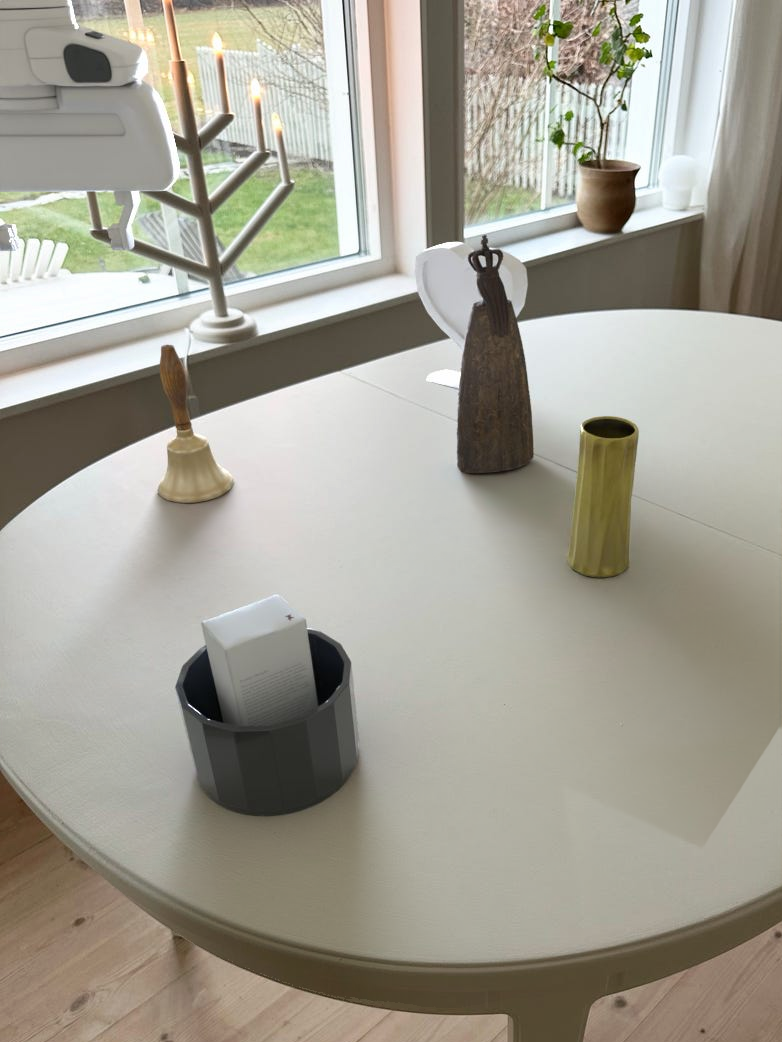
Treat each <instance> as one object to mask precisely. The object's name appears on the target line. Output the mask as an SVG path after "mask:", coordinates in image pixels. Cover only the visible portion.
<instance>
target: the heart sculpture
mask: <svg viewBox="0 0 782 1042" xmlns="http://www.w3.org/2000/svg"><path fill="white" fill-rule="evenodd" d="M489 249H492V250H493V249H494V250H495V249H497V248H496V247H489ZM500 250H501V251H502V252H503V260H502V263H501V265H500V268H499V269H498V271H499V276H500V278H501V280H502V282H503V285H504V288H505V292H506V296H507V300H511V301H512V305H513V309H514V312H515V316H516V319H517V318H518V316H519V315H520V313H521V311H522V310H523V308H524V307H525V304H526V299H527V293H528V286H529V281H528V271H527V268H526V266H525V265H524V263H523V262H522V261H521V260H520V259H519V258H518V257H515V256H514V255H512V254H511V253H510V252H507V251H505V250H502V249H500ZM473 251H475V249H474V248H473V247H472V246H470V245H469V244H468V243H465V242H461V241H452V242H451V241H450V242H449V241H448V242H444V243H442V244H437V245H435V246H432V247H429V248H427V249H424V250H421V251H420V252H419V253H418V254H417V255H415V262H414V263H415V264H414V278H415V284H416V289H417V294H418V296H419V298H420V300H421V303H422V304H423V307H424V309H425V311H426V312H427V314H428V315H429V317H431V320H432V321H434V322H435V324H436V325H437V326H438V327H439V329H440V330H441V331H442V332H443V333H444V334H446V336H448V337H449V338H450V339H451V340H452V342H454V343H455V345H457V346H458V347H459V348H460V349H461V357H462V356H463V350H464V344H465V338H466V333H467V327H468V323H469V318H470V314H471V310H472V306H473V304H474V303H476V302H479V301H482V300H483V298H482V297H481V296H480V294H479V293H478V290H477V286H476V279H477V277H476V274H477V272H476V271H474V269H473V268H472V267H471V266H470V264H469V262H468V254H470V253H471V252H473ZM478 257H479V261H480V263H481V265H482V267H486V260H485V257H484V256H478ZM471 261H472V257H471ZM497 262H498V256H497V255H496V254H493V266H495V265H496V264H497ZM472 263H473V262H472ZM460 374H461V372H458V371H454V370H451V369H443V370H439V371H434V372H432V373H430V374H429V375H428V376H427V378H426V381H427V382H431V383H434V384H439V385H442V386H446V387H451V388H455V389H458V390H459V383H460Z"/></svg>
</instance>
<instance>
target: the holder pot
mask: <svg viewBox="0 0 782 1042" xmlns="http://www.w3.org/2000/svg"><path fill="white" fill-rule="evenodd" d="M307 632H308V640H309V646H310V653H311V659H312V666H313V673H314V680H315V687H316V694H317V701H318V707H317V708H315V709H314V710H312V711H310V712H309V713H307V714H305V715H304V716H302V717H299V718H295V719H291V720H288V721H284V722H281V723H277V724H274V725H270V726H232V725H229V724H225V723H224V722H223V718H222V713H221V709H220V705H219V700H218V696H217V691H216V687H215V682H214V678H213V673H212V669H211V665H210V660H209V656H208V652H207V647H206V644H205V645H202V646H201V647H200V648H199V649H197V651H196V652H195V653H194V654H193V655H192V656H191V657H190V658H189V659H188V660H187V661H186V662H185V663H184V664H183V665H182V666H181V669H180V672H179V676H178V678H177V680H176V684H175V687H174V688H175V692H176V697H177V701H178V704H179V705H178V706H179V710H180V713H181V717H182V721H183V726H184V730H185V735H186V738H187V744H188V747H189V751H190V755H191V760H192V764H193V766H194V770H195V774H196V777H197V781H198V783H199V786H200V788H201V789H202V790H203V792H204V794H205V795H206V796H207V797H208V798H209V799H210V800H211V801H213V802H214V803H215V804H217V805H219V806H220V807H222V808H224V809H227V810H229V811H232V812H235V813H239V814H243V815H246V816H247V815H248V816H257V817H258V816H261V817H270V816H271V817H272V816H281V815H288V814H292V813H296V812H299V811H302V810H305V809H308V808H311V807H313V806H315V805H318V804H319V803H321V802H323V801H325V800H327V799H328V798H330V797H331V796H332V795H334V794H335V793H336V792H337V791H339V790H340V789H341V788H342V787H343V786H344V785H345V784H346V783H347V782H348V781H349V779H350V777H351V776H352V774H353V772H354V770H355V769H356V766H357V763H358V760H359V743H360V742H359V740H360V737H359V726H358V717H357V716H358V715H357V706H356V697H355V696H356V695H355V684H354V675H353V665H352V661H351V659H350V657H349V655H348V653H347V652H346V650H345V648H344V647H343V645H342V644H341V643H340V642H339V641H337V640H335V639H333V638H332V637H330V636H328V635H327V634H326V633H324V632H322V631H320V630H317V629H312V628H308V627H307Z"/></svg>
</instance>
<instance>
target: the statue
mask: <svg viewBox="0 0 782 1042" xmlns="http://www.w3.org/2000/svg"><path fill="white" fill-rule="evenodd" d="M481 238H482V239H480V245H481V247H480V248H481V249H478V250H477V249H476V251H475V250H474V251H473V252H471V253H470V254H468V262H469V264H470V266H471V267H472V268H473V269H474V271H476V272H477V274H476V277H477V279H476V286H477V290H478V293H479V294H480V296H481V297H482V298H483V300H482V301H479V302H476V303H474V304H473V306H472V310H471V314H470V318H469V323H468V327H467V333H466V338H465V344H464V350H463V356H462V355H461V361H460V362H461V364H460V366H461V367H460V373H461V374H460V383H459V389H458V392H457V393H458V394H457V396H458V398H457V400H458V401H457V419H456V422H457V424H456V425H457V426H456V441H457V442H456V460H457V463H456V466H457V468H458V470H459V471H461V472H465V473H467V474H477V475H479V474H488V473H497V472H503V471H504V472H505V471H510V470H515V469H517V468H520V467H522V466H524V465H527V464H528V463H529V462H531V461H533V459H534V458H535V453H534V451H535V450H534V449H535V448H534V429H533V413H532V404H531V403H532V401H531V395H530V386H529V379H528V378H529V377H528V370H527V363H526V362H527V361H526V356H525V351H524V344H523V341H522V335H521V332H520V327H519V323H518V319H517V318H516V316H515V312H514V309H513V305H512V301H511V300H507V296H506V292H505V288H504V285H503V282H502V280H501V278H500V276H499V271H498V269H499V268H500V265H501V263H502V260H503V252H502V251H503V250H502V249H500V248H496V249H495V250H494V249H493V250H492V249H489V248H490V247H489V246H488V244H489V238H488V236H487V234H483V235H482V236H481ZM501 250H502V251H501ZM493 254H496V255H497V256H498V262H497V264H496V265H495V266H493ZM478 256H484V257H485V260H486V267H482V265H481V263H480V261H479V257H478ZM471 257H472V261H471ZM472 262H473V263H472Z"/></svg>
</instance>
